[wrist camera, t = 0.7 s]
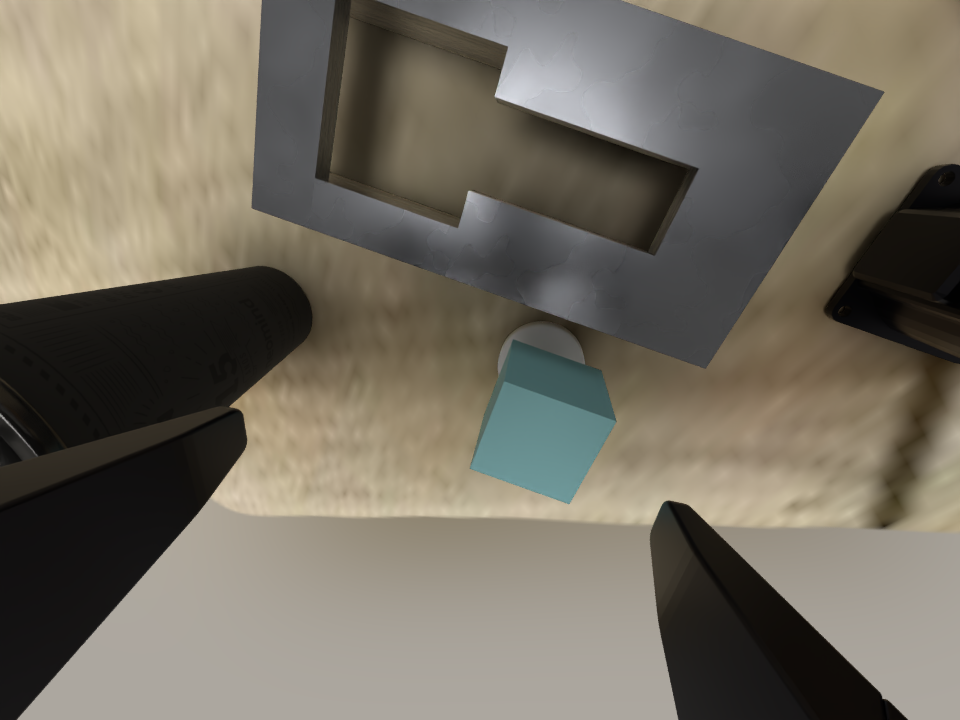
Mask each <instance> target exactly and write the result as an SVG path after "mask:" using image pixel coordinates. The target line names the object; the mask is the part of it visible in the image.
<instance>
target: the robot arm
mask: <svg viewBox="0 0 960 720" xmlns="http://www.w3.org/2000/svg"><path fill="white" fill-rule="evenodd" d="M944 173H945V176H946V178H945V180H944V181H943V182H942V183H941V184H940V185H939V181H938V180H939V178H940V176H941V175H943V174H944ZM843 306H845V307H846V308H845V310H844V311H843V312H842V313H840V314H838V311H839V309H840V308H841V307H843ZM826 314H827V316H828V317H829V318H831V319H833V320H835V321H837V322H840V323H843V324H846V325H849V326H851V327H854V328H857V329H860V330H863V331H866V332H868V333H871V334H874V335H877V336H880V337H883V338H885V339H888V340H891V341H894V342H897V343H900V344H903V345H905V346H908V347H911V348H914V349H917V350H920V351H922V352H925V353H928V354H931V355H934V356H937V357H939V358H942V359H945V360H948V361H951V362H954V363H958V364H960V165H956V164H944V165H939V166H935V167H934V168H932V169H930V170H929V171H928V172H927V173H926V174H925V175H924V177H923V178H922V179H921V181H920V182H919V183H918V185H917V186H916V187H915V189H914V190H913V191H912V193H911V194H910V196H909V197H908V198H907V200H906V201H905V202H904V204H903V205H902V206H901V208H900V209H899V210H898V212H897V213H895V214H894V215H893V217H892V218H891V219H890V221H889V222H888V223H887V225H886V226H885V227H884V229H883V230H882V231H881V233H880V234H879V235H878V237H877V238H876V239H875V241H874V242H873V243H872V245H871V246H870V248H869V249H868V250H867V252H866V253H865V254H864V256H863V257H862V258H861V260H860V261H859V262H858V264H857V265H856V266H855V268H854V269H853V272H852V273H851V275H850V276H849V278H848V279H847V280H846V282H845V283H844V284H843V286H842V287H841V288H840V290H839V291H838V292H837V294H836V295H835V296H834V298H833V299H832V300H831V302H830V303H829V304H828V306H827V308H826ZM246 445H247V435H246V429H245V422H244V416H243V413H242V412H241V411H240V410H239V409H235V408H230V407H226V406H219V407H215V408H212V409H208V410H204V411H201V412H197V413H194V414H190V415H186V416H183V417H179V418H176V419H172V420H168V421H165V422H161V423H158V424H154V425H150V426H147V427H143V428H140V429H136V430H132V431H129V432H125V433H122V434H118V435H114V436H111V437H107V438H104V439H100V440H96V441H93V442H89V443H86V444H82V445H78V446H75V447H71V448H68V449H64V450H61V451H57V452H53V453H50V454H46V455H43V456H39V457H35V458H32V459H28V460H25V461H21V462H17V463H14V464H10V465H7V466H3V467H0V720H17V719H18V718H19V717H20V715H21V714H22V713H23V712H24V711H25V710H26V709H27V707H28V706H29V705H30V704H31V703H32V702H33V701H34V700H35V698H36V697H37V696H38V695H39V694H40V693H41V692H42V690H43V689H44V688H45V687H46V686H47V685H48V683H49V682H50V681H51V680H52V679H53V678H54V677H55V676H56V674H57V673H58V672H59V671H60V670H61V669H62V668H63V667H64V665H65V664H66V663H67V662H68V661H69V660H70V658H71V657H72V656H73V655H74V654H75V653H76V652H77V650H78V649H79V648H80V647H81V646H82V645H83V644H84V643H85V642H86V640H87V639H88V638H89V637H90V636H91V635H92V634H93V632H94V631H95V630H96V629H97V627H99V626H100V624H101V623H102V622H103V621H104V620H105V619H106V618H107V616H108V615H109V614H110V613H111V612H112V611H113V610H114V609H115V607H116V606H117V605H118V604H119V603H120V601H122V599H123V598H124V597H125V596H126V595H127V593H129V591H130V590H131V589H132V588H133V587H134V586H135V584H136V583H137V582H138V581H139V580H140V579H141V578H142V576H144V574H145V573H146V572H147V571H148V570H149V569H150V568H151V566H152V565H153V564H154V563H155V562H156V561H157V559H158V558H159V557H160V556H161V555H162V554H163V552H165V550H166V549H167V548H168V547H169V546H170V545H171V544H172V542H173V541H174V540H175V539H176V538H177V537H178V536H179V534H180V533H181V532H182V531H183V530H184V529H185V528H186V527H187V525H188V524H189V523H190V522H191V521H192V519H193V518H194V517H195V516H196V515H197V514H198V513H199V511H200V510H201V509H202V507H203V506H204V505H205V504H206V502H207V501H208V500H209V498H210V497H211V496H212V494H213V493H214V492H215V490H216V489H217V487H218V486H219V485H220V483H221V482H222V481H223V479H224V478H225V476H226V475H227V474H228V472H229V471H230V470H231V468H232V467H233V466H234V464H235V463H236V461H237V460H238V459H239V457H240V456H241V455H242V453H243V452H244V450H245V448H246ZM650 547H651V557H652V567H653V576H654V586H655V596H656V606H657V614H658V622H659V628H660V633H661V638H662V643H663V648H664V653H665V658H666V662H667V667H668V672H669V677H670V682H671V686H672V691H673V696H674V701H675V705H676V710H677V715H678V720H908V719H907V718H906V717H905V716H904V715H903V714H902V713H901V712H900V711H899V710H898V709H897V708H895V706H894V705H892V703H890V702H889V701H888V700H886V699H882V695H881V693H880V692H879V691H878V690H877V689H876V688H875V687H874V686H873V685H872V684H871V683H870V682H869V681H868V680H867V679H866V678H865V677H864V676H863V675H862V674H861V673H860V672H859V671H858V670H856V669H855V668H854V667H853V666H852V665H851V664H850V663H849V662H848V661H847V660H846V659H845V658H844V657H843V656H842V655H841V654H840V653H839V652H838V651H837V650H836V649H835V648H834V647H833V646H832V645H831V644H830V643H829V642H828V641H827V640H826V639H825V638H824V637H823V636H822V635H821V634H819V632H818V631H817V630H816V629H815V628H814V627H813V626H812V625H811V624H810V623H809V622H808V621H806V620H805V619H804V618H803V617H802V616H801V615H800V614H799V613H798V612H797V611H796V610H795V609H794V608H793V607H792V606H791V605H790V604H789V603H788V602H787V601H786V600H785V599H784V598H783V597H782V596H781V595H780V594H779V593H778V592H777V591H776V590H775V589H774V588H773V587H772V586H771V585H770V584H769V583H768V582H767V581H766V580H765V579H764V578H763V577H762V576H761V575H760V574H758V573H757V572H756V571H755V570H754V569H753V568H752V567H751V566H750V565H749V564H748V563H747V562H746V561H745V560H744V559H743V558H742V557H741V556H740V555H739V554H738V553H737V552H736V551H735V550H734V549H733V548H732V547H731V546H730V545H729V544H728V543H727V542H726V541H725V540H724V539H723V538H722V537H721V536H720V535H719V534H717V532H716V531H715V530H714V529H712V527H711V526H709V525H708V524H707V523H706V522H705V521H704V520H703V519H702V518H701V517H700V516H699V515H698V514H697V513H696V512H695V511H694V510H693V509H692V508H691V507H690V506H689V505H687V504H683V503H679V502H674V501H665V502H664V503H663V504H662V506H661V508H660V511H659V513H658V515H657V518H656V520H655V522H654V525H653V527H652V530H651V533H650Z"/></svg>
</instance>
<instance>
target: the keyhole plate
mask: <svg viewBox="0 0 960 720" xmlns="http://www.w3.org/2000/svg"><path fill="white" fill-rule="evenodd" d="M350 17H352V18H355V19H358V20H361V21H364V22H367V23H369V24H372V25H375V26H378V27H381V28H384V29H387V30H390V31H392V32H395V33H398V34H401V35H404V36H407V37H410V38H412V39H415V40H418V41H421V42H424V43H427V44H430V45H433V46H435V47H438V48H441V49H444V50H447V51H450V52H453V53H455V54H458V55H461V56H464V57H467V58H470V59H473V60H475V61H478V62H481V63H484V64H487V65H490V66H493V67H496V68H498V69H501V70H502V72H501V75H500V79H499V82H498V86H497V90H496V93H495V98H496V100H497V102H498V103H500V104H503V105H506V106H509V107H512V108H514V109H517V110H520V111H523V112H526V113H529V114H532V115H534V116H537V117H540V118H543V119H546V120H549V121H552V122H554V123H557V124H560V125H563V126H566V127H569V128H572V129H574V130H577V131H580V132H583V133H586V134H589V135H592V136H594V137H597V138H600V139H603V140H606V141H609V142H612V143H614V144H617V145H620V146H623V147H626V148H629V149H632V150H634V151H637V152H640V153H643V154H646V155H649V156H652V157H654V158H657V159H660V160H663V161H666V162H669V163H672V164H674V165H677V166H680V167H683V168H686V169H689V170H688V172H687V174H686V176H685V178H684V180H683V182H682V184H681V186H680V188H679V190H678V192H677V194H676V196H675V198H674V200H673V202H672V204H671V206H670V208H669V210H668V212H667V214H666V216H665V218H664V220H663V222H662V224H661V226H660V228H659V230H658V232H657V234H656V236H655V238H654V240H653V242H652V244H651V246H650V248H649V250H648V251H645V250H642V249H639V248H637V247H634V246H631V245H628V244H625V243H622V242H620V241H617V240H614V239H611V238H608V237H605V236H603V235H600V234H597V233H594V232H591V231H588V230H585V229H583V228H580V227H577V226H574V225H571V224H568V223H566V222H563V221H560V220H557V219H554V218H551V217H548V216H546V215H543V214H540V213H537V212H534V211H531V210H529V209H526V208H523V207H520V206H517V205H514V204H512V203H509V202H506V201H503V200H500V199H497V198H494V197H492V196H489V195H486V194H483V193H480V192H477V191H475V190H469V191H468V195H467V198H466V202H465V205H464V209H463V213H462V216H461V218H459V217H456V216H453V215H450V214H448V213H445V212H442V211H439V210H436V209H433V208H431V207H428V206H425V205H422V204H419V203H416V202H413V201H411V200H408V199H405V198H402V197H399V196H396V195H394V194H391V193H388V192H385V191H382V190H379V189H377V188H374V187H371V186H368V185H365V184H362V183H360V182H357V181H354V180H351V179H348V178H345V177H343V176H340V175H337V174H334V173H331V172H330V166H331V158H332V150H333V142H334V135H335V127H336V119H337V111H338V103H339V96H340V88H341V80H342V72H343V64H344V57H345V49H346V41H347V33H348V25H349V18H350ZM883 94H884V91H881V90H878V89H875V88H872V87H869V86H866V85H863V84H860V83H858V82H855V81H852V80H849V79H846V78H843V77H840V76H837V75H835V74H832V73H829V72H826V71H823V70H820V69H817V68H814V67H811V66H809V65H806V64H803V63H800V62H797V61H794V60H791V59H788V58H786V57H783V56H780V55H777V54H774V53H771V52H768V51H765V50H762V49H760V48H757V47H754V46H751V45H748V44H745V43H742V42H739V41H737V40H734V39H731V38H728V37H725V36H722V35H719V34H716V33H713V32H711V31H708V30H705V29H702V28H699V27H696V26H693V25H690V24H688V23H685V22H682V21H679V20H676V19H673V18H670V17H667V16H664V15H662V14H659V13H656V12H653V11H650V10H647V9H644V8H641V7H639V6H636V5H633V4H630V3H627V2H624V1H621V0H262V9H261V29H260V50H259V70H258V90H257V110H256V130H255V151H254V171H253V191H252V208H253V209H255V210H258V211H261V212H264V213H267V214H270V215H272V216H275V217H278V218H281V219H284V220H287V221H289V222H292V223H295V224H298V225H301V226H304V227H306V228H309V229H312V230H315V231H318V232H320V233H323V234H326V235H329V236H332V237H335V238H337V239H340V240H343V241H346V242H349V243H352V244H354V245H357V246H360V247H363V248H366V249H369V250H371V251H374V252H377V253H380V254H383V255H386V256H388V257H391V258H394V259H397V260H400V261H402V262H405V263H408V264H411V265H414V266H417V267H419V268H422V269H425V270H428V271H431V272H434V273H436V274H439V275H442V276H445V277H448V278H451V279H453V280H456V281H459V282H462V283H465V284H468V285H470V286H473V287H476V288H479V289H482V290H484V291H487V292H490V293H493V294H496V295H499V296H501V297H504V298H507V299H510V300H513V301H516V302H518V303H521V304H524V305H527V306H530V307H533V308H535V309H538V310H541V311H544V312H547V313H550V314H552V315H555V316H558V317H561V318H564V319H567V320H569V321H572V322H575V323H578V324H581V325H583V326H586V327H589V328H592V329H595V330H598V331H600V332H603V333H606V334H609V335H612V336H615V337H617V338H620V339H623V340H626V341H629V342H632V343H634V344H637V345H640V346H643V347H646V348H649V349H651V350H654V351H657V352H660V353H663V354H665V355H668V356H671V357H674V358H677V359H680V360H682V361H685V362H688V363H691V364H694V365H697V366H699V367H702V368H705V369H706V367H707V366H708V364H709V363H710V361H711V360H712V358H713V357H714V355H715V353H716V352H717V350H718V349H719V347H720V346H721V344H722V343H723V341H724V340H725V338H726V336H727V335H728V333H729V332H730V330H731V329H732V327H733V326H734V324H735V323H736V321H737V319H738V318H739V316H740V315H741V313H742V312H743V310H744V309H745V307H746V305H747V304H748V302H749V301H750V299H751V298H752V296H753V295H754V293H755V292H756V290H757V288H758V287H759V285H760V284H761V282H762V281H763V279H764V278H765V276H766V275H767V273H768V271H769V270H770V268H771V267H772V265H773V264H774V262H775V261H776V259H777V258H778V256H779V254H780V253H781V251H782V250H783V248H784V247H785V245H786V244H787V242H788V241H789V239H790V237H791V236H792V234H793V233H794V231H795V230H796V228H797V227H798V225H799V224H800V222H801V220H802V219H803V217H804V216H805V214H806V213H807V211H808V210H809V208H810V207H811V205H812V203H813V202H814V200H815V199H816V197H817V196H818V194H819V193H820V191H821V190H822V188H823V186H824V185H825V183H826V182H827V180H828V179H829V177H830V176H831V174H832V173H833V171H834V169H835V168H836V166H837V165H838V163H839V162H840V160H841V159H842V157H843V156H844V154H845V152H846V151H847V149H848V148H849V146H850V145H851V143H852V142H853V140H854V139H855V137H856V135H857V134H858V132H859V131H860V129H861V128H862V126H863V125H864V123H865V121H866V120H867V118H868V117H869V115H870V114H871V112H872V111H873V109H874V108H875V106H876V104H877V103H878V101H879V100H880V98H881V97H882V95H883Z"/></svg>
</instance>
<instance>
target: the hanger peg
mask: <svg viewBox="0 0 960 720" xmlns="http://www.w3.org/2000/svg"><path fill="white" fill-rule="evenodd" d="M498 374H499V377H498V380H497V382H496V385H495V387H494V390H493V393H492V395H491V398H490V400H489V403H488V406H487V408H486V411H485V414H484V417H483V421H482V425H481V429H480V432H479V436H478V440H477V444H476V447H475V451H474V455H473V459H472V462H471V466H470V469H472V470H475V471H478V472H481V473H483V474H486V475H489V476H492V477H494V478H497V479H500V480H503V481H506V482H508V483H511V484H514V485H517V486H520V487H522V488H525V489H528V490H531V491H534V492H536V493H539V494H542V495H545V496H548V497H550V498H553V499H556V500H559V501H562V502H564V503H567V504H570V502H571V500H572V498H573V497H574V495H575V493H576V491H577V490H578V488H579V486H580V484H581V483H582V481H583V479H584V477H585V476H586V474H587V472H588V470H589V469H590V467H591V465H592V463H593V462H594V460H595V458H596V456H597V455H598V453H599V451H600V449H601V448H602V446H603V444H604V442H605V441H606V439H607V437H608V435H609V434H610V432H611V430H612V428H613V427H614V425H615V423H616V418H615V415H614V411H613V408H612V405H611V401H610V398H609V395H608V391H607V388H606V384H605V381H604V378H603V374H602V371H601V370H599V369H596V368H593V367H590V366H587V365H585V360H584V355H583V351H582V348H581V345H580V343H579V341H578V340H577V338H576V337H575V336H574V335H573V334H572V333H571V332H570V331H569V330H568V329H566V328H565V327H563V326H561V325H559V324H556V323H553V322H547V321H536V322H530V323H527V324H524V325H522V326H520V327H518V328H517V329H515V330H514V331H513V332H512V333H511V334H510V335H509V336H508V337H507V338H506V340H505V341H504V343H503V345H502V348H501V352H500V355H499V359H498Z"/></svg>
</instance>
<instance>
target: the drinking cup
mask: <svg viewBox="0 0 960 720" xmlns="http://www.w3.org/2000/svg"><path fill="white" fill-rule="evenodd" d="M311 324H312V313H311V308H310V305H309V302H308V300H307V297H306V296H305V294H304V292H303V291H302V289H301V288H300V287H299V286H298V284H297V283H296V282H295V281H294V280H293V279H291V278H290V277H289V276H287V275H286V274H284V273H283V272H281V271H279V270H276V269H274V268H270V267H265V266H256V267H249V268H242V269H236V270H229V271H222V272H216V273H209V274H202V275H195V276H189V277H182V278H175V279H168V280H162V281H155V282H148V283H142V284H135V285H128V286H121V287H115V288H108V289H101V290H95V291H88V292H81V293H74V294H68V295H61V296H54V297H47V298H41V299H34V300H27V301H21V302H14V303H7V304H0V467H3V466H7V465H10V464H14V463H17V462H21V461H25V460H28V459H32V458H35V457H39V456H43V455H46V454H50V453H53V452H57V451H61V450H64V449H68V448H71V447H75V446H78V445H82V444H86V443H89V442H93V441H96V440H100V439H104V438H107V437H111V436H114V435H118V434H122V433H125V432H129V431H132V430H136V429H140V428H143V427H147V426H150V425H154V424H158V423H161V422H165V421H168V420H172V419H176V418H179V417H183V416H186V415H190V414H194V413H197V412H201V411H204V410H208V409H212V408H215V407H219V406H226V407H229V406H230V405H231V404H233V403H234V402H235V401H236V400H237V399H238V398H239V397H241V396H242V395H243V394H244V393H245V392H246V391H247V390H249V389H250V388H251V387H252V386H253V385H254V384H255V383H257V382H258V381H259V380H260V379H261V378H262V377H263V376H265V375H266V374H267V373H268V372H269V371H270V370H271V369H273V368H274V367H275V366H276V365H277V364H278V363H279V362H280V361H282V360H283V359H284V358H285V357H286V356H287V355H288V354H290V353H291V352H292V351H293V350H294V349H295V348H296V347H298V346H299V345H300V344H301V343H302V342H303V341H304V340H305V339H306V338H307V336H308V334H309V332H310V329H311Z"/></svg>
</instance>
